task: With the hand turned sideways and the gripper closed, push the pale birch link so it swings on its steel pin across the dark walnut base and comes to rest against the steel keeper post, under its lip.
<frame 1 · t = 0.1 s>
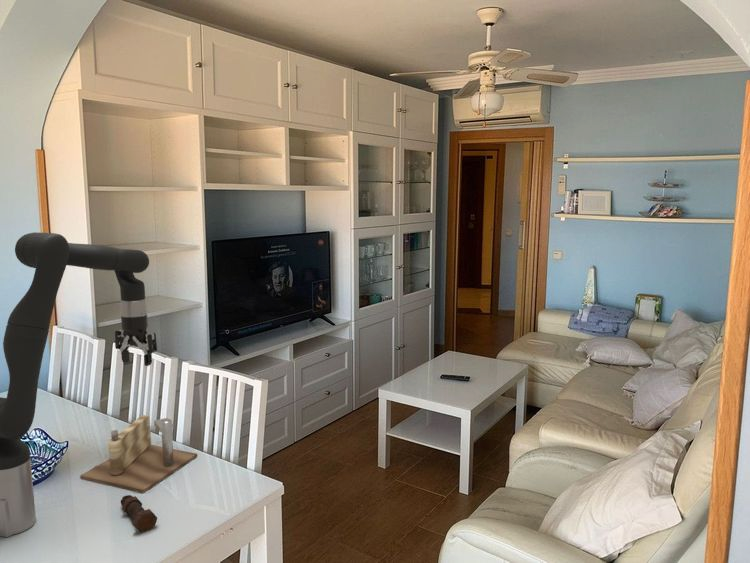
hand: (137, 363, 184), 29 cm above the table, tool pointing down, fingers open, 8 cm apart
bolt: (137, 519, 151), on the table
keeper: (168, 467, 178), resting on hinge base
link: (130, 443, 180), point 6 cm above the table, hinge at 15.0°
hinge base: (141, 467, 178), on the table
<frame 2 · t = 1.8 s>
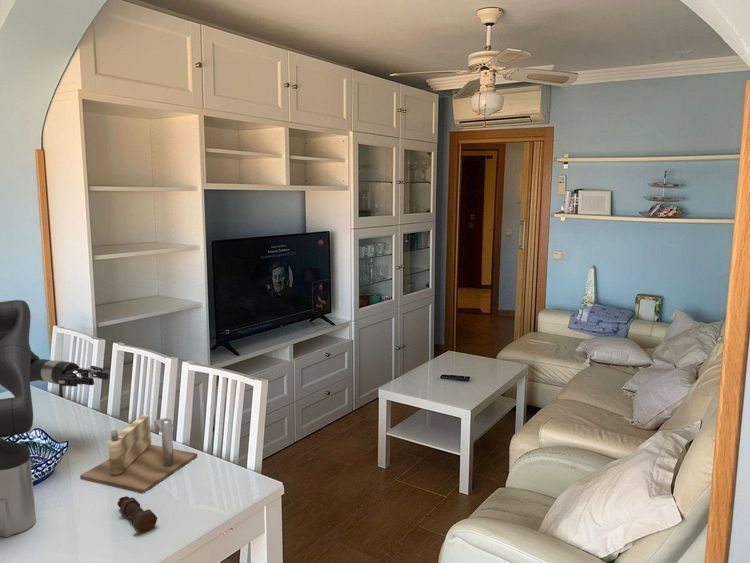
hand: (100, 379, 185), 24 cm above the table, tool horizontal, fingers open, 5 cm apart
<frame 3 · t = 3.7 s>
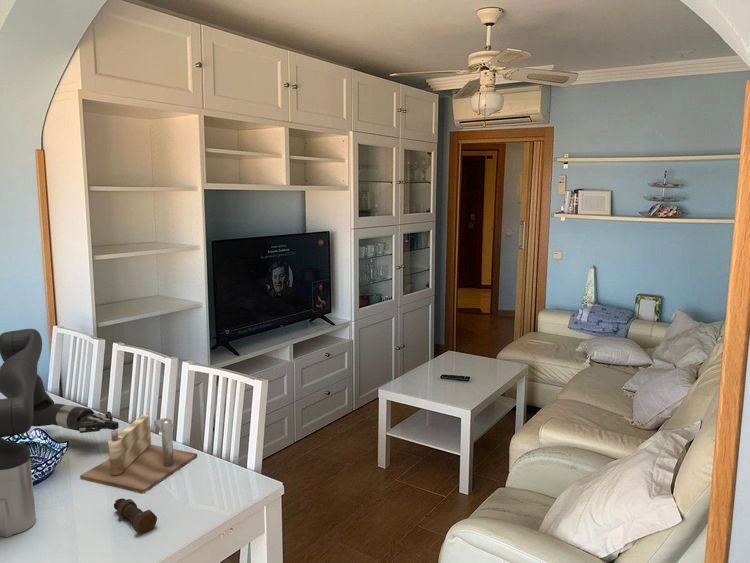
hand: (116, 426, 186), 9 cm above the table, tool horizontal, fingers closed
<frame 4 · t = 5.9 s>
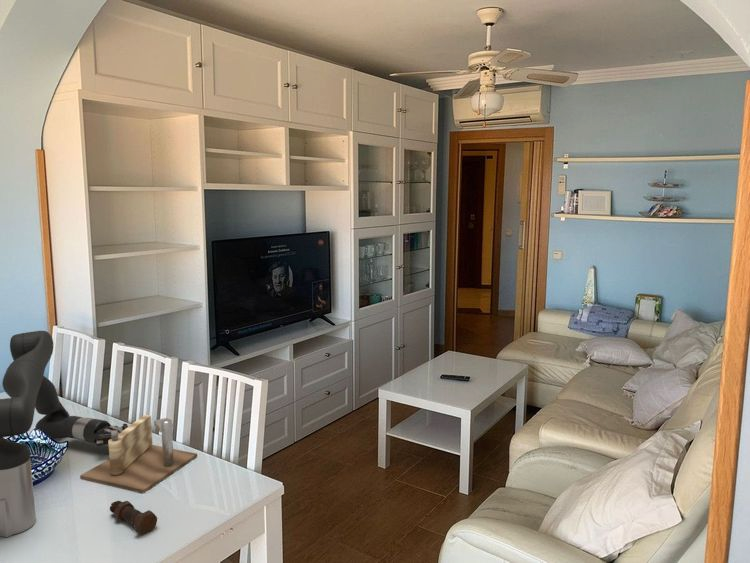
hand: (134, 438, 184), 6 cm above the table, tool horizontal, fingers closed
link: (131, 443, 180), point 6 cm above the table, hinge at 13.6°, touching gripper
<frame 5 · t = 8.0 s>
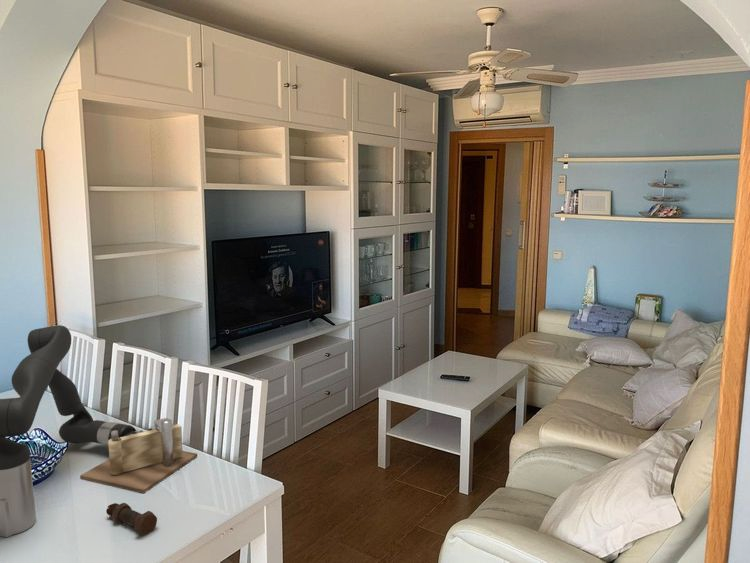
hand: (160, 444, 180), 6 cm above the table, tool horizontal, fingers closed
link: (146, 448, 176), point 6 cm above the table, hinge at -33.8°, touching gripper
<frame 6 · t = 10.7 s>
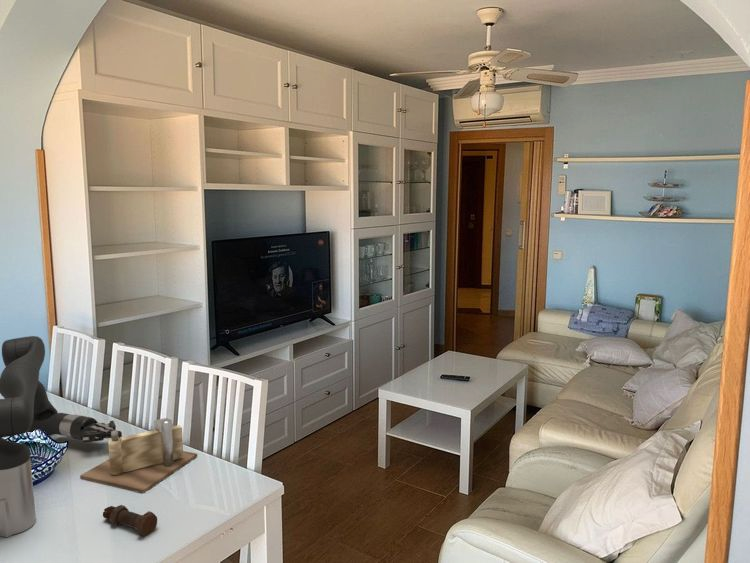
hand: (120, 435, 186), 6 cm above the table, tool horizontal, fingers closed
link: (146, 449, 176), point 6 cm above the table, hinge at -36.3°, touching keeper
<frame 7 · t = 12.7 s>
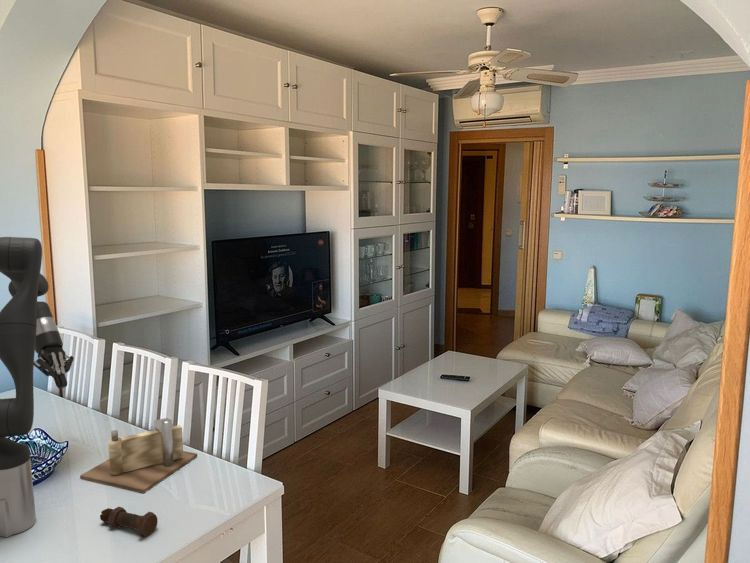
hand: (62, 387, 174), 25 cm above the table, tool tilted 35°, fingers closed
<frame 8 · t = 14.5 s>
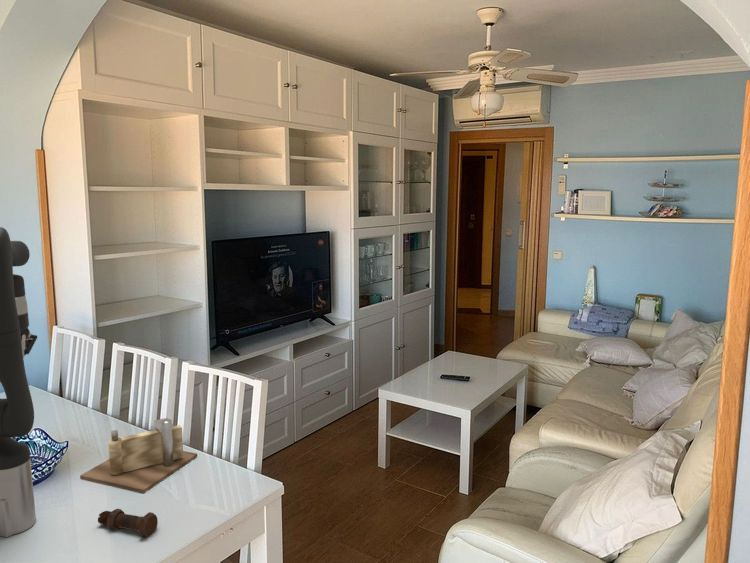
hand: (17, 371, 167), 32 cm above the table, tool pointing down, fingers closed
at the end: link at -36° (first picture: +15°); link touching keeper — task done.
